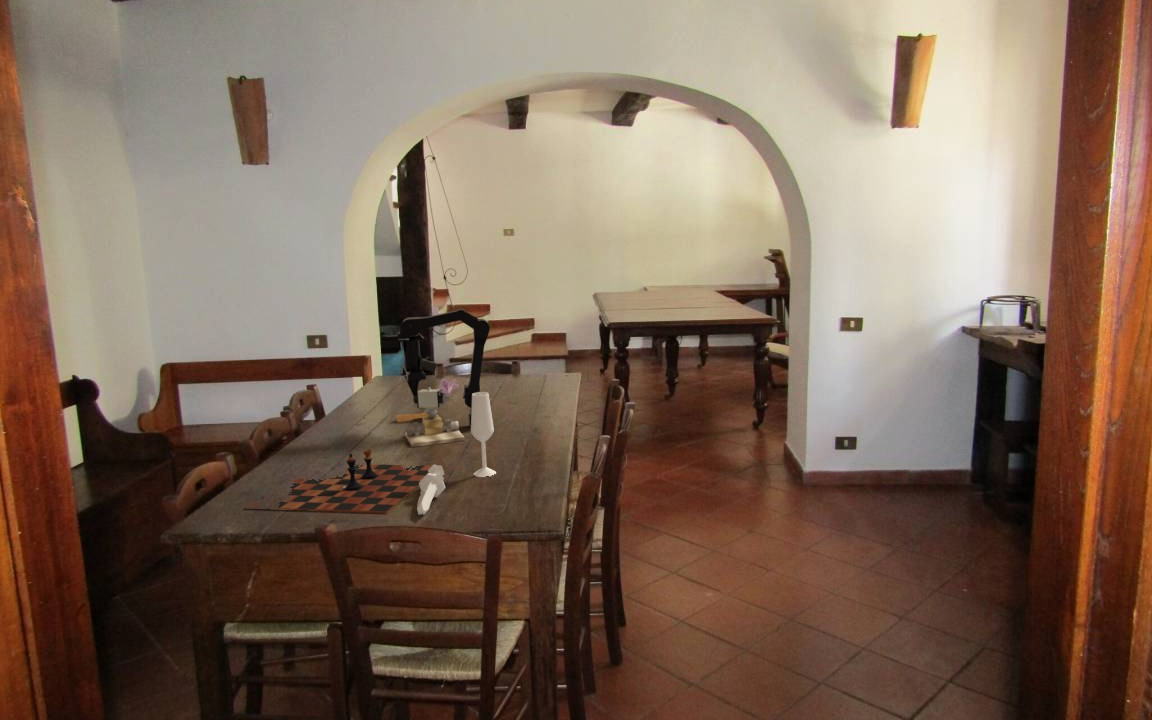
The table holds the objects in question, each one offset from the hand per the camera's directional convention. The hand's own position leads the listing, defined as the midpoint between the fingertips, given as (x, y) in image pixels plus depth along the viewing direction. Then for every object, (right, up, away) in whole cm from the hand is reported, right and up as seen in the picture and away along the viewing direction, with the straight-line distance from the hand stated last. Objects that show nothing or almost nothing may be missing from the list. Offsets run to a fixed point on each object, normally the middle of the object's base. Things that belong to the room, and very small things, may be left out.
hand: (414, 395), depth 275 cm
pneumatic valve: (+2, -10, +22) cm, 24 cm away
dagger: (+20, -25, -72) cm, 78 cm away
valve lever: (+3, -8, -9) cm, 12 cm away
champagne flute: (+31, -21, -50) cm, 62 cm away
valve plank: (+9, -14, -9) cm, 19 cm away
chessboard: (-7, -24, -57) cm, 62 cm away
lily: (+3, -4, +54) cm, 54 cm away
